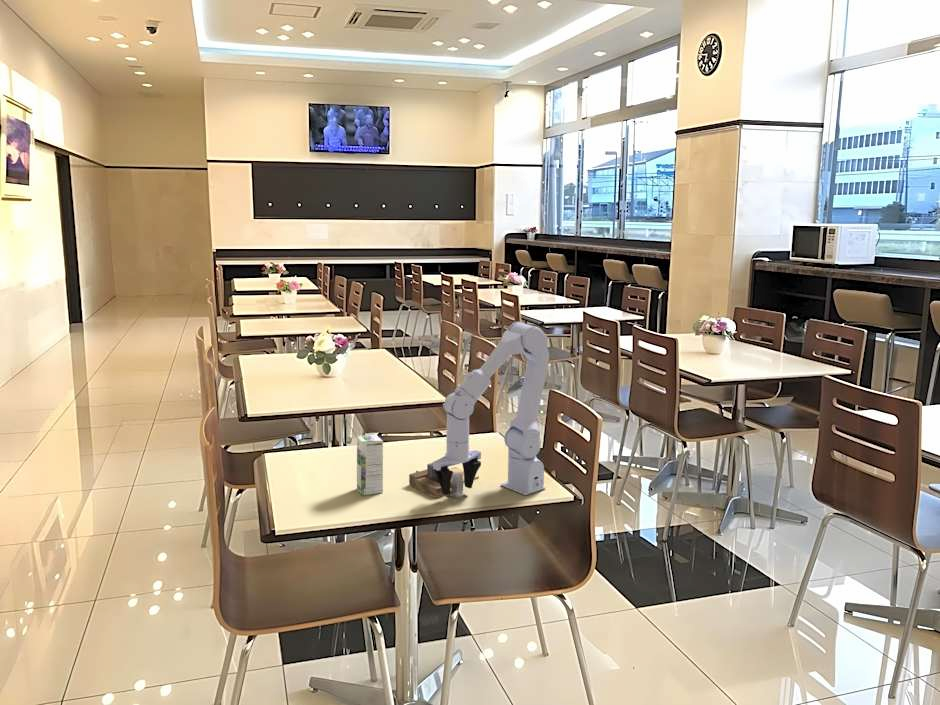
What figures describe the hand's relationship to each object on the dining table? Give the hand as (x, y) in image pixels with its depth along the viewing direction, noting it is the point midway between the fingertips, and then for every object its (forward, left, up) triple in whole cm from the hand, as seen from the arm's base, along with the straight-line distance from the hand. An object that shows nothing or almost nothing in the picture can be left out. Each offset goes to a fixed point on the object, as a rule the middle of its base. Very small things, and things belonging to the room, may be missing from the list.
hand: (457, 490), depth 199 cm
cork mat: (+12, -10, -2) cm, 15 cm away
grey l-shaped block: (+3, 0, -2) cm, 3 cm away
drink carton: (+18, +15, -2) cm, 23 cm away
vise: (+10, 0, -2) cm, 10 cm away
